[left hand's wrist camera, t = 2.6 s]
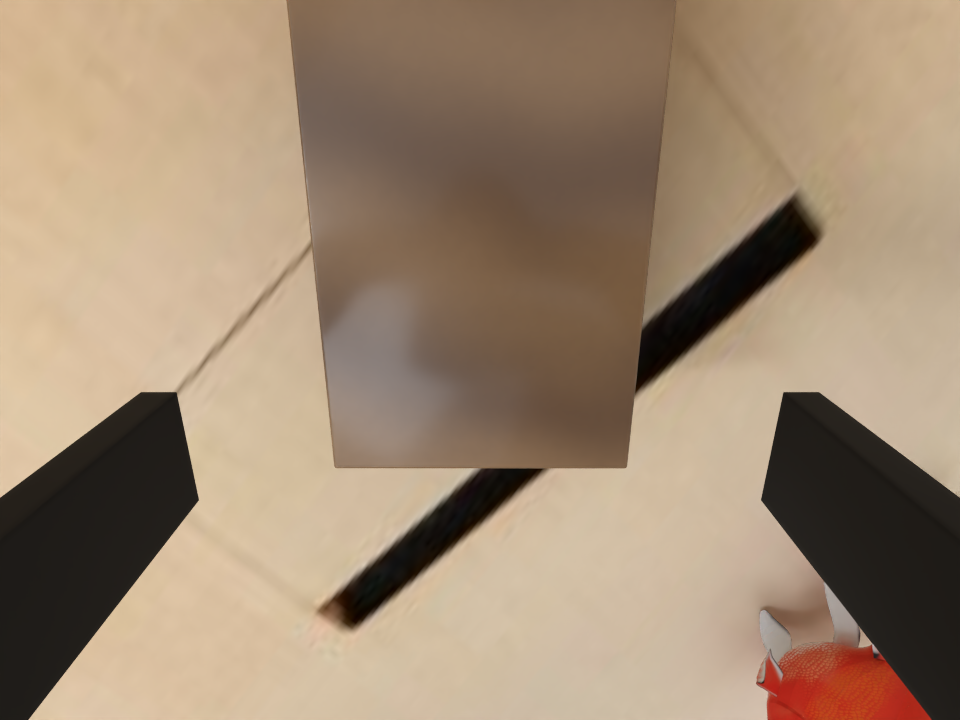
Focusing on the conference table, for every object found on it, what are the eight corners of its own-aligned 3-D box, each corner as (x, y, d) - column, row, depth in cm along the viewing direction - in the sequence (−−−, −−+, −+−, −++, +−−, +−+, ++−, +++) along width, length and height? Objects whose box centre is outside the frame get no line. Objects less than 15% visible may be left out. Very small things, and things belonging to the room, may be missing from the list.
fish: (658, 654, 27) (887, 864, 19) (844, 417, 30) (1108, 516, 22) (716, 716, 34) (907, 894, 26) (865, 515, 37) (1078, 619, 29)
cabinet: (338, -175, 20) (246, -380, 12) (623, -175, 20) (718, -379, 12) (375, 374, 27) (333, 469, 19) (584, 374, 27) (627, 469, 19)
